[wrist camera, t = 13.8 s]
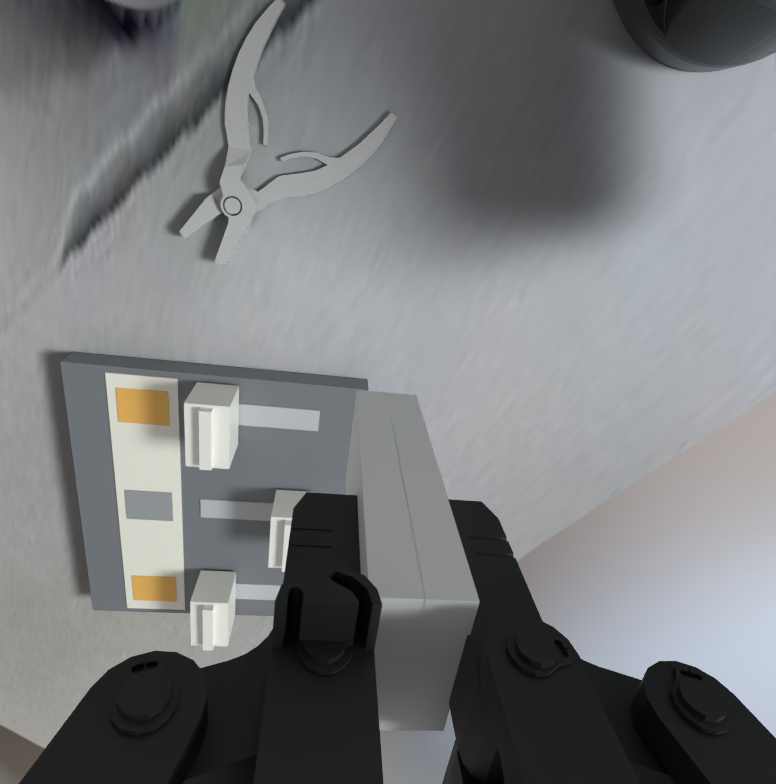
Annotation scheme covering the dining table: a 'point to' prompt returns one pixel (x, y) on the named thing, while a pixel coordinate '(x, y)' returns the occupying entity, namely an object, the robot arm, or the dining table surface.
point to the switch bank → (193, 475)
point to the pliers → (233, 191)
